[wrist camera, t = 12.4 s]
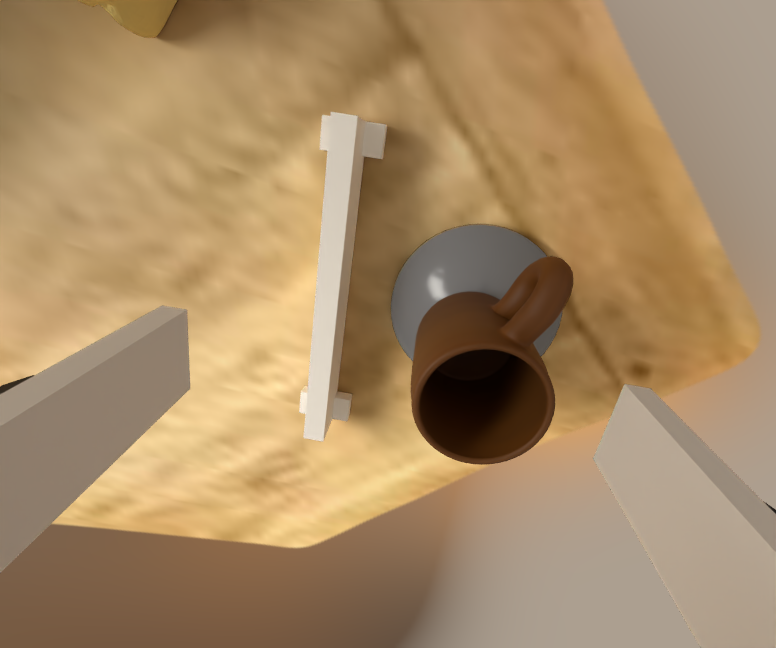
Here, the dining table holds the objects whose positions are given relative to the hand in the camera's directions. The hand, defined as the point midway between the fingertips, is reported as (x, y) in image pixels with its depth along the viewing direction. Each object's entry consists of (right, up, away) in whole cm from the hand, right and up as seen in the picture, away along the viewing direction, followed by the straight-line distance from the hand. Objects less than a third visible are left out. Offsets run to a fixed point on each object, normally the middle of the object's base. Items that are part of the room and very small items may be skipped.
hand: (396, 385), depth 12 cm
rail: (-4, +5, +18) cm, 19 cm away
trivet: (+6, +3, +17) cm, 19 cm away
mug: (+7, +3, +17) cm, 18 cm away
